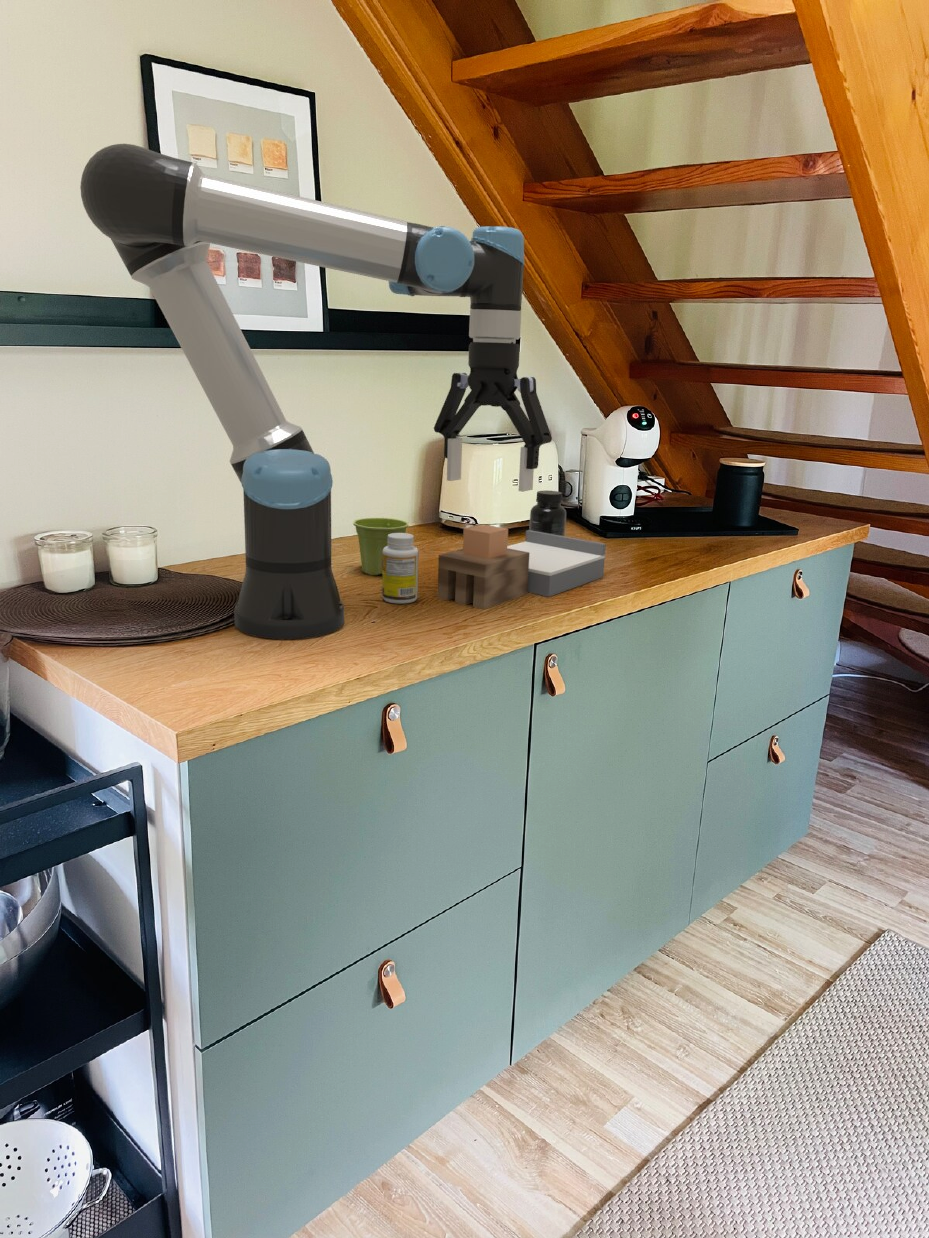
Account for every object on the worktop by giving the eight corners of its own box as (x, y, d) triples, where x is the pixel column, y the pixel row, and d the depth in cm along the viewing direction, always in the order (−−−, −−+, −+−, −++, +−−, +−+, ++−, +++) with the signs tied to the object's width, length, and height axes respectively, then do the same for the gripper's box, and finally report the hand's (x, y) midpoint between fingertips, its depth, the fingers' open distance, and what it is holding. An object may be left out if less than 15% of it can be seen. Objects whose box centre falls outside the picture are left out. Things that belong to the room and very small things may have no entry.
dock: (548, 597, 147) (551, 560, 145) (469, 579, 156) (470, 544, 154) (603, 577, 161) (605, 543, 159) (527, 561, 170) (529, 530, 168)
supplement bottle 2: (521, 551, 178) (524, 490, 174) (550, 549, 181) (554, 488, 177) (540, 559, 172) (544, 496, 169) (570, 556, 175) (574, 494, 172)
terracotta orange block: (488, 559, 141) (489, 533, 140) (462, 553, 144) (463, 528, 142) (506, 554, 145) (508, 529, 143) (481, 548, 147) (482, 524, 146)
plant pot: (374, 562, 165) (374, 515, 162) (418, 570, 160) (419, 522, 158) (342, 572, 157) (341, 522, 154) (386, 581, 152) (387, 530, 150)
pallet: (483, 609, 139) (485, 565, 137) (437, 598, 144) (438, 555, 142) (526, 594, 148) (529, 552, 146) (482, 584, 153) (484, 543, 151)
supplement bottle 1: (392, 593, 146) (393, 530, 143) (423, 598, 144) (425, 534, 141) (375, 601, 141) (375, 536, 138) (407, 606, 139) (408, 540, 136)
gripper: (581, 344, 130) (571, 492, 137) (443, 339, 145) (440, 473, 151) (553, 343, 125) (544, 498, 131) (413, 338, 139) (411, 478, 145)
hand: (488, 485), depth 141 cm, fingers open, 13 cm apart
